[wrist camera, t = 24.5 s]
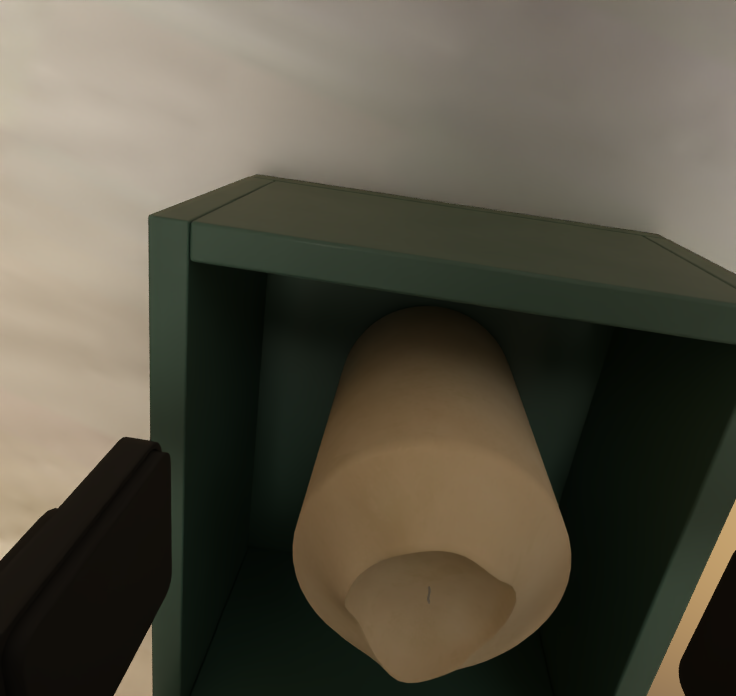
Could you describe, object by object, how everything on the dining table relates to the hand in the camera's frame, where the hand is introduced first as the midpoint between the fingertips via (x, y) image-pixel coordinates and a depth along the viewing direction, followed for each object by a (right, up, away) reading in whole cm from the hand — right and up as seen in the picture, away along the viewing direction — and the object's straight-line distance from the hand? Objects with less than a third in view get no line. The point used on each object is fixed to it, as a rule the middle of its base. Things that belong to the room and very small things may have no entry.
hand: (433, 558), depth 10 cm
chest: (+1, +1, +11) cm, 11 cm away
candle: (+1, +2, +10) cm, 10 cm away
